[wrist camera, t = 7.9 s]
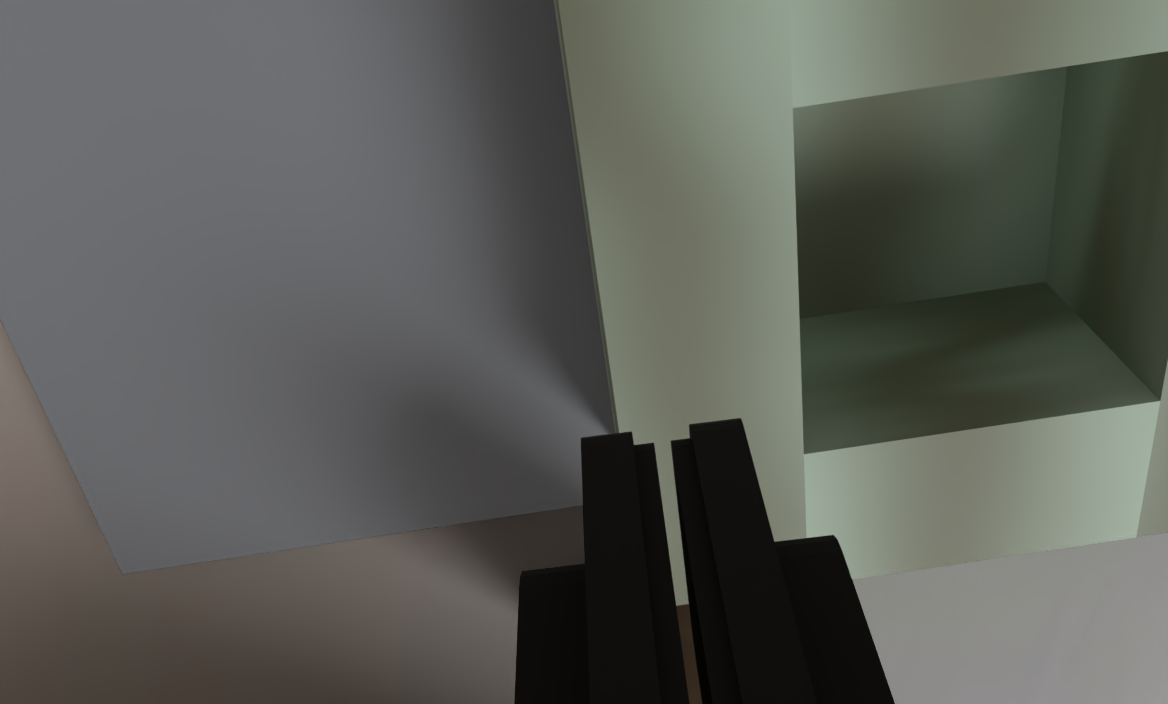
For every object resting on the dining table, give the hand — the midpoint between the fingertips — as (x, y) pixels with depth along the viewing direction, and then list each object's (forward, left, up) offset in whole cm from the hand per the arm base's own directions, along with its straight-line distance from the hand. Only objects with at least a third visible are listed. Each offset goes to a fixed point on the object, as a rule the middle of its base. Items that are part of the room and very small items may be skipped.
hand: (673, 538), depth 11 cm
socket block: (-5, 0, -9) cm, 11 cm away
